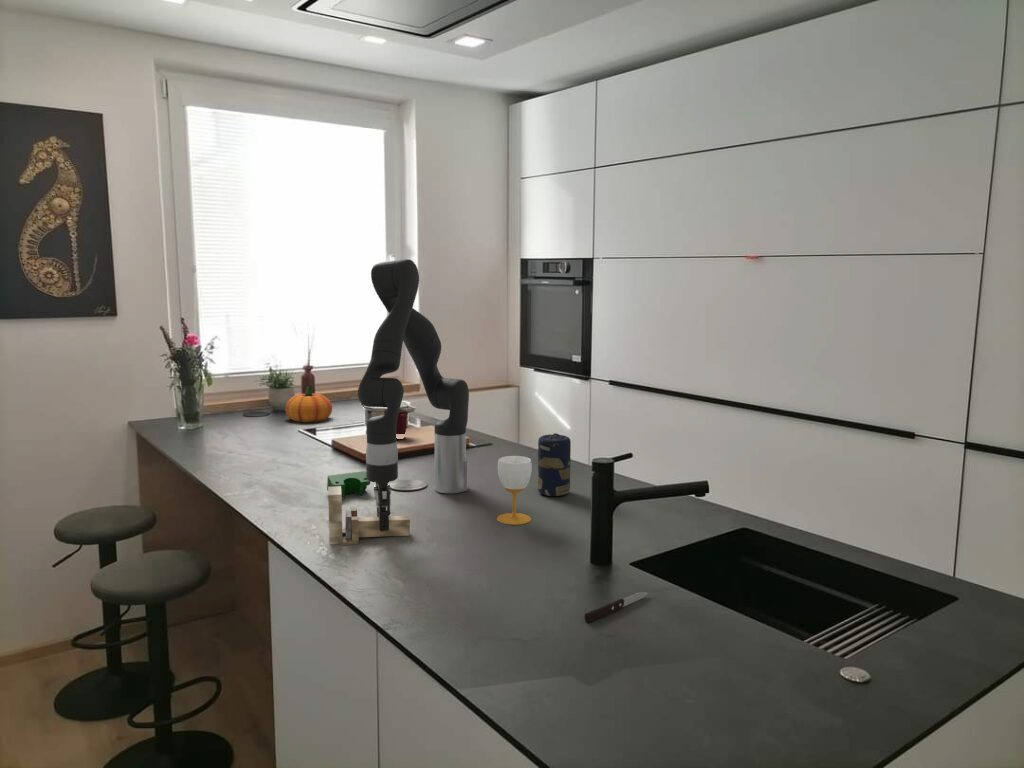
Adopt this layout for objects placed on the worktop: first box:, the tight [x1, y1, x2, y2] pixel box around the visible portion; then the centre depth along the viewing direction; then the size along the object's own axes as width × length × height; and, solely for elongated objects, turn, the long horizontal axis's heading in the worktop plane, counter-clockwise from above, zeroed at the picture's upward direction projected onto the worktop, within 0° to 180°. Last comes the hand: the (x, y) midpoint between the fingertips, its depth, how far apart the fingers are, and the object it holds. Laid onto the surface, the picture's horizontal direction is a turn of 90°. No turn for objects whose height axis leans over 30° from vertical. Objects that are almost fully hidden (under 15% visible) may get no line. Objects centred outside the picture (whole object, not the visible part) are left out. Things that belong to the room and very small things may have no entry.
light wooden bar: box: [344, 509, 411, 539], centre depth 179 cm, size 15×5×6 cm, turn 104°
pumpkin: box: [284, 385, 333, 423], centre depth 318 cm, size 19×19×15 cm
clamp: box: [326, 470, 371, 499], centre depth 212 cm, size 12×6×9 cm, turn 113°
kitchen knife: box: [584, 591, 649, 624], centre depth 141 cm, size 18×1×2 cm, turn 131°
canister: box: [537, 432, 572, 497], centre depth 214 cm, size 10×10×18 cm
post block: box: [327, 486, 360, 546], centre depth 176 cm, size 7×9×12 cm
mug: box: [383, 407, 408, 434], centre depth 284 cm, size 12×9×11 cm
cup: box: [496, 455, 533, 526], centre depth 191 cm, size 9×9×16 cm
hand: (382, 524), depth 179 cm, fingers open, 8 cm apart
